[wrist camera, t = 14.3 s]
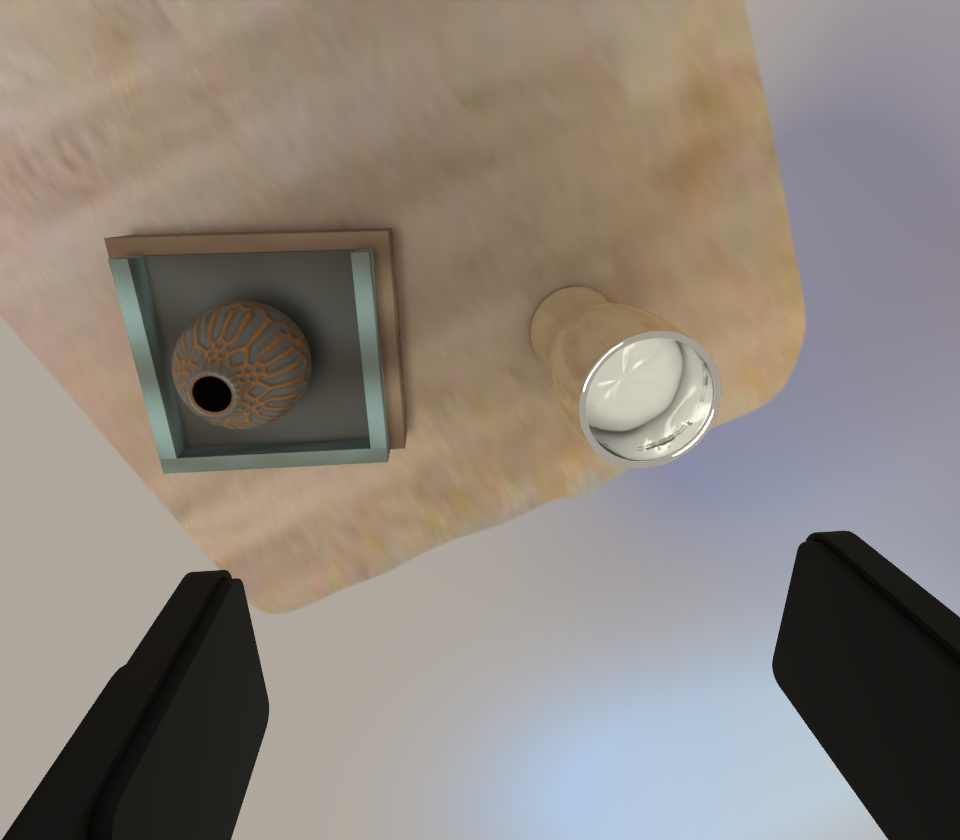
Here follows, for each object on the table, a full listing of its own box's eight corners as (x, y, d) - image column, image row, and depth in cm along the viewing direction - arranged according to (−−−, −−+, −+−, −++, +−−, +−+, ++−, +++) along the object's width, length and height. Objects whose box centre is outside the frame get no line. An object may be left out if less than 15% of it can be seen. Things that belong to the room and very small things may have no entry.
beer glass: (599, 389, 41) (685, 488, 27) (509, 362, 39) (551, 451, 25) (637, 297, 38) (754, 353, 24) (544, 265, 37) (610, 304, 23)
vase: (320, 405, 36) (287, 466, 28) (208, 396, 35) (140, 456, 27) (322, 298, 33) (285, 330, 25) (201, 286, 33) (124, 314, 24)
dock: (130, 235, 34) (83, 240, 30) (391, 228, 35) (385, 232, 31) (180, 442, 40) (147, 474, 35) (406, 431, 41) (403, 461, 36)
